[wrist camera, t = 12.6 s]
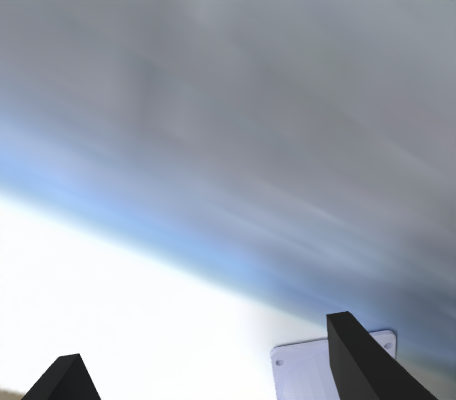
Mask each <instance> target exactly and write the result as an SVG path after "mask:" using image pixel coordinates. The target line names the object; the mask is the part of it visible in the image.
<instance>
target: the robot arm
mask: <svg viewBox="0 0 456 400" xmlns="http://www.w3.org/2000/svg"><path fill="white" fill-rule="evenodd" d="M326 316H327V332H328V339H326V340H320V341H313V342H307V343H300V344H294V345H288V346H281V347H276V348H274V349H272V350H271V352H270V356H271V362H272V369H273V375H274V381H275V387H276V394H277V400H438V399H437V398H436V397H435V396H433V395H432V394H431V393H430V392H429V391H428V390H427V389H425V388H424V387H423V386H422V385H421V384H420V383H419V382H418V381H417V380H416V379H415V378H413V377H412V376H411V375H410V374H409V373H408V372H407V371H406V370H405V369H404V368H403V367H402V366H401V365H400V364H399V363H398V362H397V361H396V360H395V351H396V336H395V335H394V333H393V332H392V331H390V330H384V331H378V332H371V333H368V332H367V330H366V329H365V328H364V327H363V326H362V325H361V324H360V323H359V322H358V321H357V319H356V318H355V317H354V316H353V315H352V314H351V313H350V312H348V311H346V312H340V313H333V314H327V315H326ZM387 343H388V344H387ZM277 360H279V361H277ZM21 400H101V399H100V396H99V394H98V392H97V390H96V388H95V386H94V384H93V382H92V379H91V377H90V375H89V373H88V371H87V369H86V367H85V364H84V362H83V360H82V358H81V356H80V354H72V355H66V356H60V357H58V358H57V359H56V360H55V362H54V363H53V364H52V365H51V366H50V367H49V368H48V369H47V370H46V372H45V373H44V374H43V375H42V376H41V377H40V378H39V380H38V381H37V382H36V383H35V384H34V385H33V386H32V388H31V389H30V390H29V391H28V392H27V393H26V395H25V396H24V397H23V398H22V399H21Z"/></svg>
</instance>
